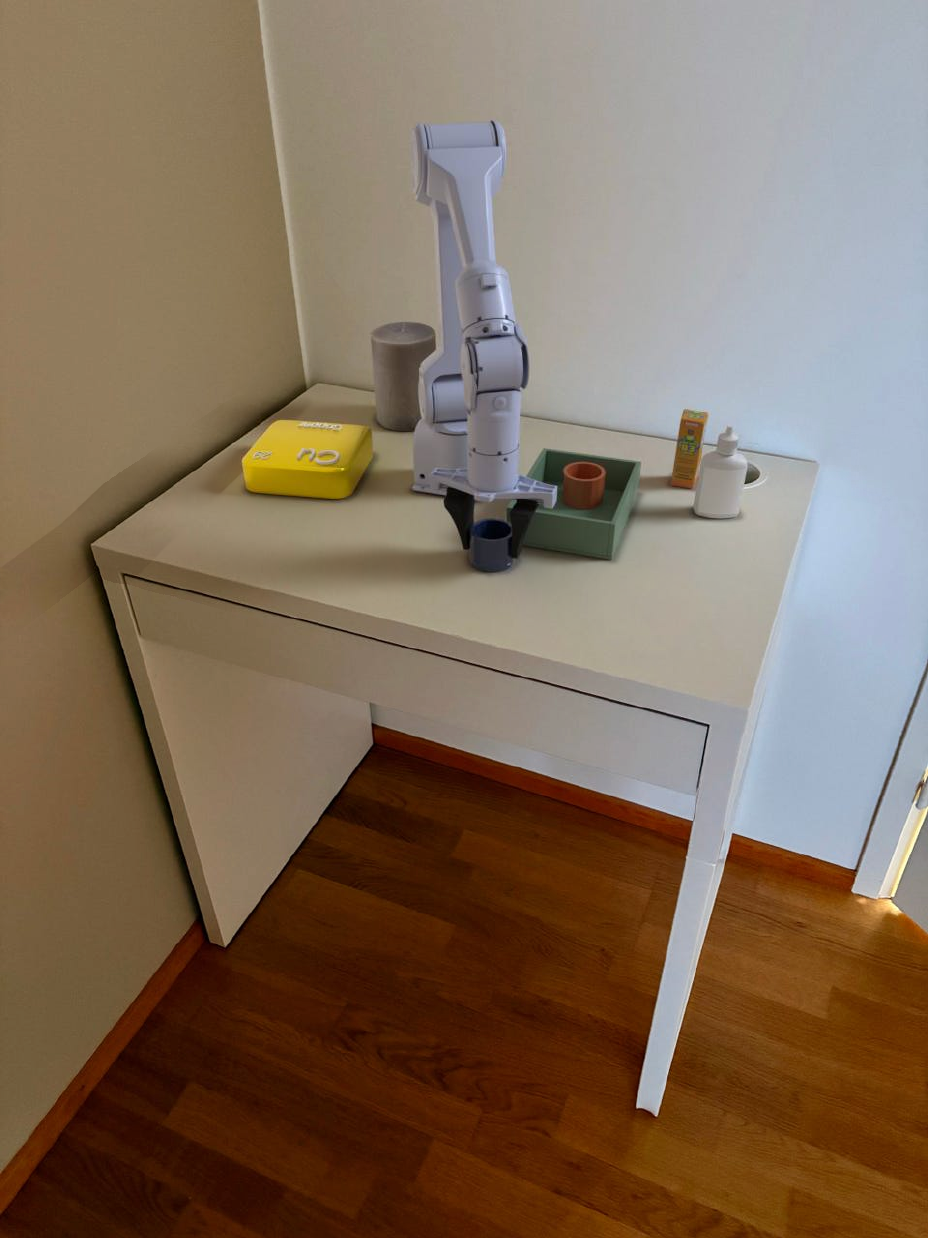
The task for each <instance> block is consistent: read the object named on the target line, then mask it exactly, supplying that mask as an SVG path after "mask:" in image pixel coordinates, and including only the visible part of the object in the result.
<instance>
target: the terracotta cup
mask: <svg viewBox="0 0 928 1238" xmlns="http://www.w3.org/2000/svg"><path fill="white" fill-rule="evenodd" d="M605 476H606V472H605V469H604V468H603V467H601V466H600V465H597V464H595V463H590V462H575V463H571V464H569V465H567V466H565V468H564V469H563V479H562V502H563V503H564V504H565V505H566V506H568V507H570V508H573V509H579V510H589V509H594V508H597V507H599V506H600V505H601V504H602V502H603V497H604V487H605Z"/></svg>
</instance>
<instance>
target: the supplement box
mask: <svg viewBox="0 0 928 1238" xmlns="http://www.w3.org/2000/svg"><path fill="white" fill-rule="evenodd" d="M708 419H709V412H707V411H698V410H692V409H689V408H688V409H687V408H685V409H683V411H682V414H681V417H680V422H679V429H678V434H677V440H676V447H675V453H674V454H675V455H674V460H673V467H672V473H671V480H670V485H671V486H672V487H679V488H686V489H694V487H695V486H696V484H697V481H698V475H699V469H700V463H701V459H702V454H703V449H704V442H705V436H706V431H707V430H706V429H707V425H708Z"/></svg>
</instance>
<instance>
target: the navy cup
mask: <svg viewBox="0 0 928 1238" xmlns="http://www.w3.org/2000/svg"><path fill="white" fill-rule="evenodd" d="M511 545H512V525H511V523H510V522H508V521H506V519H504V518H497V517H490V518H482V519H479V520H477V521H474V523H473V524H472V525H471V527H470V528H469V550H468V551H469V552H468V553H469V555H468V556H469V562H470V565H471V566H472V567H473V568H475V569H476V570H479V571H482V572H485V573H499V572H503V571H506V570H508V569H510V568H512V566H514V564H515V561H516V559H515V558H511Z"/></svg>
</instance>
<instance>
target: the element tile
mask: <svg viewBox="0 0 928 1238" xmlns="http://www.w3.org/2000/svg"><path fill="white" fill-rule="evenodd" d="M373 445H374V444H373V432H372V430H371V428H370V427H369V426H367V425H361V424H350V423H335V422H321V421H320V422H319V421H306V420H305V421H304V420H294V419H293V420H292V419H278V420H275V421H274V422H273V423H271V424H270V425H269V426H268V427H267V428H266V430H265V431H264V432H263V434H262V435H261V436H260V437H259V438H258V439H257V441H256V442H254V444H253V445H252V446H251V448H250V449H249V450H248V451H247V452H246V454H245V455H244V456H243V457H242V459H241V465H242V471H243V477H244V484H245V489H246V490H247V491H249V492H252V493H256V494H265V495H276V496H288V497H301V498H313V499H326V500H327V499H328V500H341V499H345V498H348V497H349V496H351V495H352V494H353V493H354V490H355V489H356V487H357V486H358V483H359V482H360V480H361V479H362V477H363V475H364V474H365V472H366V469H367V468H368V466H369V465H370V463H371V461H372V460H373V458H374V446H373Z"/></svg>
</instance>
